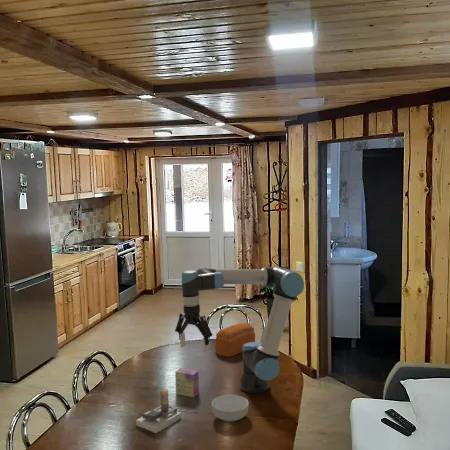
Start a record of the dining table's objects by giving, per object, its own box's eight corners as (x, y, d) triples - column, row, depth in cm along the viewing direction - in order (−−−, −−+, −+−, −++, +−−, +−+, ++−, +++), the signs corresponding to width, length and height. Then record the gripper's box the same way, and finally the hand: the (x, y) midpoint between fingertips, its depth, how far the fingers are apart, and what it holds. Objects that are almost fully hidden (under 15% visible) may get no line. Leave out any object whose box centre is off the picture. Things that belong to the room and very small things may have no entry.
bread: (213, 353, 300) (212, 328, 298) (241, 342, 319) (240, 319, 317) (229, 358, 290) (228, 333, 289) (257, 347, 309) (256, 323, 308)
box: (199, 393, 243) (198, 370, 242) (193, 397, 238) (193, 374, 237) (181, 389, 248) (180, 367, 247) (175, 394, 243) (174, 371, 242)
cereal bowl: (236, 430, 206) (236, 414, 206) (204, 421, 215) (204, 405, 214) (255, 413, 221) (255, 399, 220) (224, 405, 229) (224, 391, 229)
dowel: (170, 413, 219) (169, 390, 218) (165, 416, 216) (164, 393, 215) (164, 411, 221) (164, 388, 220) (159, 414, 218) (158, 391, 217)
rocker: (162, 415, 211) (161, 411, 211) (155, 419, 207) (154, 415, 207) (149, 414, 216) (149, 410, 216) (142, 418, 212) (142, 414, 212)
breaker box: (181, 417, 218) (180, 408, 218) (156, 433, 205) (155, 423, 205) (161, 411, 225) (161, 402, 225) (136, 425, 212) (136, 416, 212)
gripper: (218, 305, 218) (220, 350, 220) (176, 299, 232) (179, 342, 234) (208, 309, 212) (210, 356, 214) (165, 303, 226) (168, 347, 228)
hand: (194, 349), depth 224 cm, fingers open, 13 cm apart
